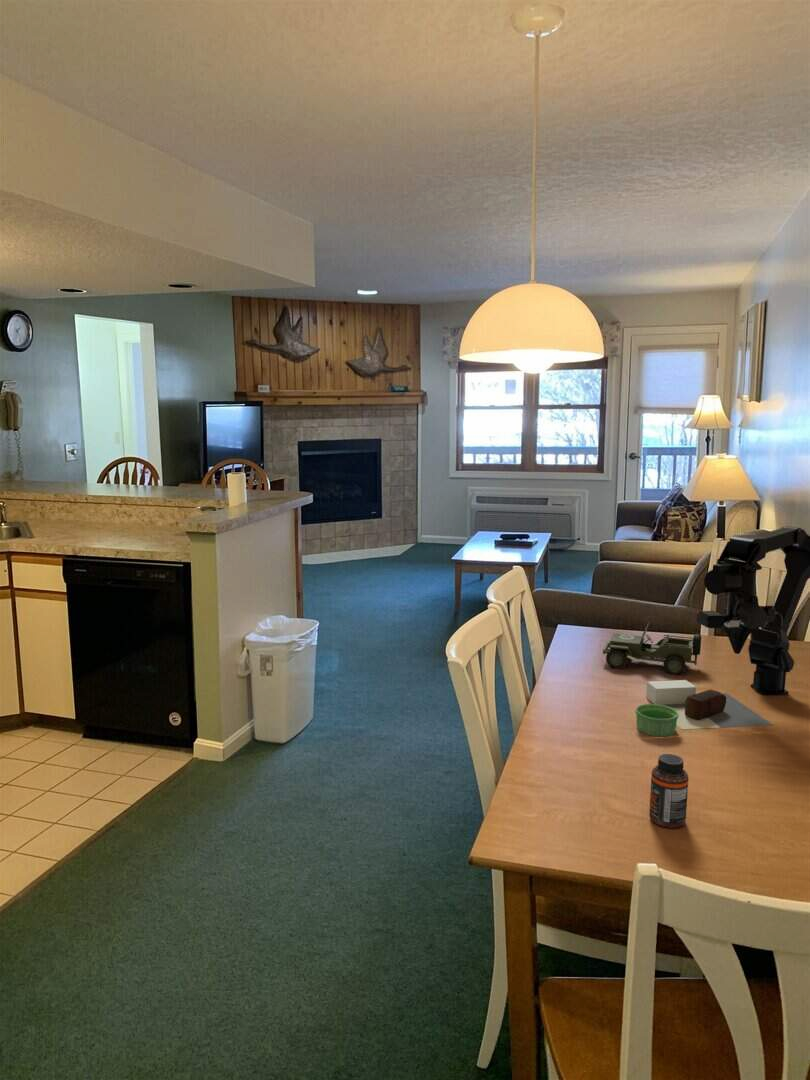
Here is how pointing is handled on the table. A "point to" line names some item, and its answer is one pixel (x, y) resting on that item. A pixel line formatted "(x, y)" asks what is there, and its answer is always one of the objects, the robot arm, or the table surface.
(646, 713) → the ramekin
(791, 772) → the table surface
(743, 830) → the table surface
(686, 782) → the supplement bottle
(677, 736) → the table surface
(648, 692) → the block
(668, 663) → the toy jeep
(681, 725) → the grey mat
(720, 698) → the brick
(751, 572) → the robot arm
